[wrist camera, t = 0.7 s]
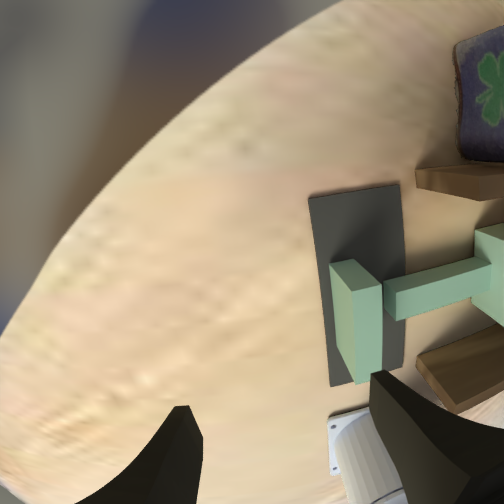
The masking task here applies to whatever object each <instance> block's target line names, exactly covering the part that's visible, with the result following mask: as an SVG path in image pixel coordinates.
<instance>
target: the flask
mask: <svg viewBox="0 0 504 504" xmlns="http://www.w3.org/2000/svg"><path fill="white" fill-rule="evenodd" d="M452 61H453V65H455V73H456V77H455V78H456V80H455V87H454V88H455V95H456V97H457V100H458V103H459V108H458V109H457V110H456V111H457V114H458V124H457V125H456V127H457V134H456V146H457V149H458V150H459V153H460V155H461V158H462V157H464V158H465V159H468V160H474V161H483V162H495V163H498V162H501V163H504V25H503V26H499V27H497V28H495V29H492V30H489V31H487V32H485V33H482V34H480V35H477V36H475V37H472V38H470V39H467V40H464V41H462V42H460V43H458V44H456V45H455V47H454V51H453V60H452Z"/></svg>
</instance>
